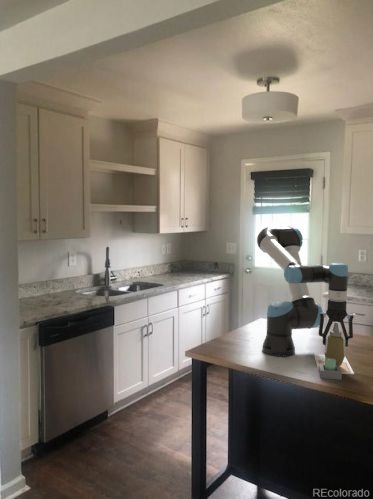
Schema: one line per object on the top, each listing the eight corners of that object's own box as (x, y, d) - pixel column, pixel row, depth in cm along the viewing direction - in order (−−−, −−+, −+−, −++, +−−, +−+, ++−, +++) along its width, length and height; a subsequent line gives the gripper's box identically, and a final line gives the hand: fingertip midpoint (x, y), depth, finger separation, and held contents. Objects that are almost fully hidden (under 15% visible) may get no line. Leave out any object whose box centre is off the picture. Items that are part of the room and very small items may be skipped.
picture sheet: (318, 371, 176) (318, 370, 176) (313, 355, 197) (313, 353, 197) (354, 374, 174) (354, 373, 173) (345, 357, 194) (345, 356, 194)
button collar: (320, 377, 169) (320, 370, 169) (318, 370, 177) (318, 363, 177) (341, 379, 168) (341, 372, 168) (338, 372, 176) (338, 365, 175)
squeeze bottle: (339, 360, 185) (341, 320, 184) (347, 367, 177) (349, 325, 176) (321, 360, 185) (323, 320, 183) (328, 367, 177) (330, 325, 175)
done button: (325, 372, 171) (325, 360, 170) (323, 369, 175) (324, 357, 174) (336, 373, 170) (336, 361, 170) (334, 369, 174) (335, 358, 174)
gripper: (314, 300, 177) (312, 354, 179) (363, 303, 173) (360, 357, 175) (312, 296, 184) (310, 348, 186) (359, 299, 181) (356, 352, 183)
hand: (334, 352), depth 181 cm, fingers closed on squeeze bottle, 6 cm apart
